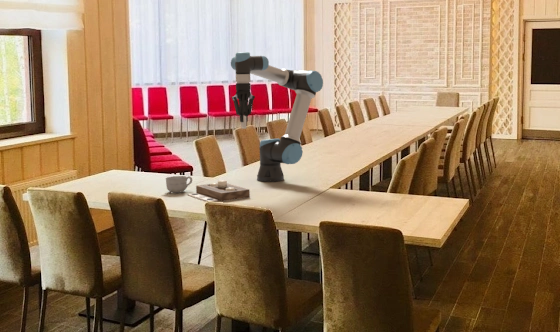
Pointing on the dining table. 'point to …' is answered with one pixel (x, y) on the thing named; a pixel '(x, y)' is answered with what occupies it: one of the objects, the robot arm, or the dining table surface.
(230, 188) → the button
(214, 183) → the button
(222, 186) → the button
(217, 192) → the board
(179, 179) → the teacup
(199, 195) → the card
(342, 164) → the dining table surface
